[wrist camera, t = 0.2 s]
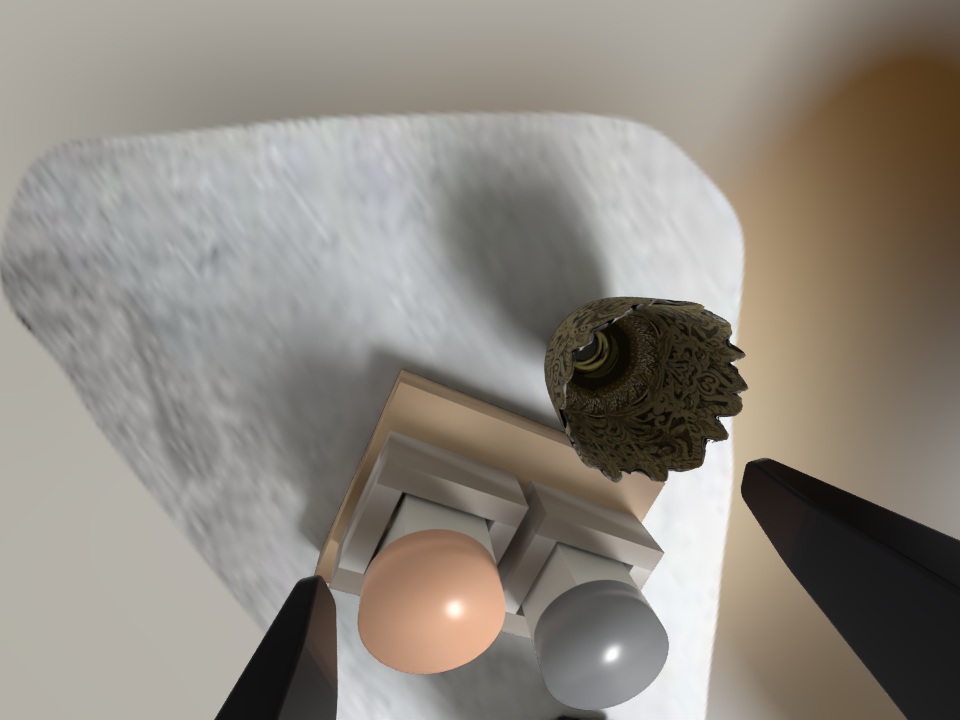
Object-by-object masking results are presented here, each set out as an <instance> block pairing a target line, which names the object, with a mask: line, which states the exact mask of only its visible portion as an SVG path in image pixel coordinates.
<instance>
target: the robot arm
mask: <svg viewBox="0 0 960 720" xmlns="http://www.w3.org/2000/svg"><path fill="white" fill-rule="evenodd" d="M741 494H742V497H743V499H744V501H745V503H746V504H747V506H748V507H749V509H750V510H751V512H752V513H753V515H754V516H755V518H756V520H757V521H758V523H759V524H760V526H761V527H762V529H763V530H764V532H765V533H766V535H767V536H768V538H769V539H770V541H771V543H772V544H773V546H774V547H775V549H776V550H777V552H778V554H779V555H780V557H781V558H782V559H783V561H784V562H785V564H786V565H787V567H788V568H789V569H790V571H791V572H792V573H793V575H794V576H795V577H796V579H797V580H798V581H799V582H800V584H801V585H802V586H803V587H804V589H805V590H806V591H807V593H808V594H809V595H810V596H811V598H812V599H813V600H814V601H815V603H816V604H817V605H818V606H819V608H820V609H821V610H822V612H823V613H824V614H825V615H826V617H827V618H828V619H829V621H830V622H831V623H832V624H833V626H834V627H835V628H836V629H837V631H838V632H839V633H840V635H841V636H842V637H843V638H844V640H845V641H846V642H847V643H848V645H849V646H850V647H851V649H852V650H853V651H854V652H855V654H856V655H857V656H858V657H859V659H860V660H861V661H862V663H863V664H864V665H865V666H866V668H867V669H868V670H869V672H870V673H871V674H872V675H873V677H874V678H875V679H876V680H877V682H878V683H879V684H880V686H881V687H882V688H883V689H884V691H885V692H886V693H887V694H888V696H889V697H890V698H891V699H892V701H893V702H894V703H895V704H896V706H897V707H898V708H899V709H900V711H901V712H902V714H903V715H904V716H905V717H906V719H907V720H960V540H958V539H955V538H953V537H951V536H948V535H946V534H943V533H941V532H939V531H937V530H934V529H932V528H930V527H927V526H925V525H923V524H921V523H918V522H916V521H913V520H911V519H909V518H906V517H904V516H902V515H900V514H897V513H895V512H893V511H890V510H888V509H885V508H883V507H881V506H879V505H876V504H874V503H872V502H870V501H867V500H865V499H862V498H860V497H858V496H856V495H853V494H851V493H849V492H846V491H844V490H842V489H839V488H837V487H835V486H832V485H830V484H828V483H825V482H823V481H821V480H819V479H816V478H814V477H812V476H809V475H807V474H805V473H802V472H800V471H798V470H795V469H793V468H791V467H788V466H786V465H784V464H781V463H779V462H777V461H774V460H771V459H769V458H761V459H758V460H754V461H751V462H748V463H747V464H746V467H745V471H744V476H743V480H742V485H741ZM337 698H338V678H337V629H336V605H335V601H334V598H333V596H332V594H331V592H330V590H329V588H328V586H327V584H326V582H325V580H324V578H323V577H322V576H321V575H315V576H311V577H307V578H303V579H301V580H299V581H298V582H297V583H296V585H295V586H294V588H293V590H292V591H291V593H290V595H289V596H288V598H287V600H286V601H285V603H284V605H283V606H282V608H281V610H280V611H279V613H278V615H277V616H276V618H275V620H274V621H273V623H272V625H271V626H270V628H269V630H268V631H267V633H266V635H265V636H264V638H263V640H262V641H261V643H260V645H259V646H258V648H257V650H256V652H255V653H254V655H253V656H252V658H251V660H250V661H249V663H248V665H247V666H246V668H245V670H244V671H243V673H242V675H241V676H240V678H239V679H238V681H237V683H236V685H235V686H234V688H233V690H232V691H231V693H230V694H229V696H228V698H227V700H226V701H225V703H224V704H223V706H222V708H221V710H220V711H219V713H218V714H217V716H216V718H215V719H214V720H336V714H337ZM558 720H575V719H571V718H566V717H562V718H559V719H558Z"/></svg>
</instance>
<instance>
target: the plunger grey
mask: <svg viewBox="0 0 960 720" xmlns="http://www.w3.org/2000/svg"><path fill="white" fill-rule="evenodd" d="M521 605H522V608H523V612H524V615H525V619H526V622H527V625H528V629H529V632H530V636H531V639H532V643H533V646H534V650H535V653H536V655H537V658H538V662H539V665H540V669H541V672H542V676H543V679H544V682H545V685H546V687H547V689H548V691H549V692H550V694H551V695H552V696H553V697H554V698H555V699H556V700H557V701H559V702H561V703H562V704H564V705H567V706H569V707H572V708H576V709H582V710H597V709H604V708H609V707H612V706H616V705H618V704H621V703H623V702H626V701H628V700H630V699H631V698H633V697H635V696H636V695H638V694H639V693H641V692H642V691H643V690H645V689H646V688H647V687H648V686H649V685H650V684H651V683H652V682H653V681H654V680H655V679H656V677H657V676H658V675H659V673H660V672H661V670H662V668H663V666H664V664H665V662H666V659H667V655H668V649H669V641H668V636H667V633H666V631H665V629H664V627H663V625H662V624H661V622H660V621H659V619H658V617H657V616H656V614H655V613H654V611H653V609H652V608H651V606H650V605H649V603H648V602H647V600H646V598H645V597H644V596H643V594H642V593H641V591H640V590H639V588H638V587H637V585H636V583H635V582H634V580H633V579H632V577H631V575H630V574H629V572H628V571H627V569H626V567H625V566H624V564H623V563H622V562H621V561H618V560H615V559H612V558H609V557H606V556H602V555H599V554H596V553H593V552H590V551H587V550H584V549H581V548H577V547H574V546H571V545H568V544H565V543H562V542H559V541H557V542H556V544H555V546H554V547H553V549H552V551H551V553H550V554H549V556H548V558H547V560H546V561H545V563H544V565H543V567H542V569H541V570H540V572H539V574H538V576H537V577H536V579H535V581H534V583H533V584H532V586H531V588H530V590H529V591H528V593H527V595H526V597H525V598H524V600H523V602H522V604H521Z"/></svg>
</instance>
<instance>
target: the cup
mask: <svg viewBox="0 0 960 720" xmlns="http://www.w3.org/2000/svg"><path fill="white" fill-rule="evenodd" d="M703 308H704V306H703V305H701V304H697V303H693V302H687V301H673V300H665V299H655V298H641V297H612V298H606V299H601V300H597V301H594V302H591V303H589V304H586V305H584V306H582V307H580V308H579V309H577V310H576V311H574V312H573V313H571V314H570V315H569V316H568V317H567V318H566V319H565V320H564V321H563V322H562V323H561V324H560V326H559V327H558V328H557V330H556V331H555V333H554V334H553V336H552V338H551V340H550V342H549V345H548V348H547V351H546V356H545V364H544V371H545V381H546V386H547V390H548V393H549V396H550V399H551V401H552V404H553V406H554V409H555V411H556V413H557V415H558V417H559V420H560V422H561V424H562V426H563V428H564V430H565V433H566V435H567V436H568V438H569V440H570V442H571V444H572V446H573V448H574V450H575V451H576V453H577V455H578V456H579V458H580V459H581V461H582V462H583V463H584V464H585V465H586V466H587V467H589V468H591V469H598V470H600V471H601V473H602V474H603V475H604V476H605V477H607V478H608V479H609V480H611V481H613V482H615V483H618V482H620V480H621V479H622V476H623V475H621V474H622V472H626V473H628V474H634V473H635V472H642V473H644V474H645V475H647V476H648V477H649V478H650V480H651V481H653V482H665V481H667V479H668V471H676V472H684V471H689V470H692V469H695V468H699V467H700V466H702V464H703V462H704V458H705V452H706V450H705V448H706V444H707V442H708V441H710V440H707V439H711V440H714V441H713V442H718V441H723V440H727V439H728V436H729V434H728V433H727V431H726V429H725V428H724V426H723V425H722V424H721V422H720V420H719V417H731V416H736V415H737V414H739V413H740V412H741V410H742V407H743V405H742V399H741V397H739V396H738V395H737V393H741V392H742V391H746V390H747V389H748V387H747V384H746V383H745V381H744V380H743V378H742V377H741V376H740V374H739V373H738V369H737V368H736V367H735V366H734V365H732V364H731V363H730V362H734V361H736V360H737V361H738V360H739V359H741V358H744V357H745V356H746V355H745V353H744V352H743V351H742V350H740V349H739V348H738V347H736V346H734V345H732V344H731V343H730V341H729V339H730V336H731V335H732V330H731V324H730V323H729V322H727V321H726V320H725V319H723V318H721V317H720V316H717V315H715V314H713V313H712V312H710V311H708V310H705V309H703ZM593 335H594V336H595V337H596V339H597V342H598V347H597V350H596V352H595V354H594V355H593V356H592V357H591V358H589V359H587V360H584V361H580V360H576V352H579V351H581V350H582V349H583V348H584V347H585V346H587V345H589V344H591V343H592V341H593V338H594V336H593ZM717 416H719V417H717ZM716 417H717V418H718V420H717V418H716ZM719 422H720V423H719ZM713 442H712V443H713ZM619 471H621V472H619Z"/></svg>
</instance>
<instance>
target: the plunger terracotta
mask: <svg viewBox="0 0 960 720" xmlns="http://www.w3.org/2000/svg"><path fill="white" fill-rule="evenodd" d="M495 562H496V560H495V556H494V552H493V548H492V544H491V540H490V536H489V532H488V528H487V525H486V521H485V518H483V517H480V516H477V515H474V514H471V513H468V512H465V511H462V510H458V509H455V508H452V507H449V506H446V505H443V504H440V503H436V502H433V501H430V500H427V499H424V498H421V497H418V496H415V495H411V494H408V493H406V495H405V497H404V499H403V501H402V503H401V505H400V507H399V509H398V511H397V514H396V516H395V518H394V520H393V522H392V524H391V526H390V528H389V530H388V533H387V535H386V537H385V539H384V541H383V543H382V545H381V547H380V549H379V552H378V554H377V555H376V557H375V558H374V559H373V560H372V562H371V563H370V565H369V567H368V569H367V571H366V573H365V576H364V580H363V584H362V591H361V598H360V606H359V613H358V630H359V634H360V637H361V640H362V642H363V644H364V646H365V647H366V649H367V650H368V651H369V653H370V654H371V655H372V656H373V657H374V658H376V659H377V660H378V661H380V662H381V663H383V664H385V665H386V666H388V667H391V668H393V669H396V670H399V671H402V672H407V673H413V674H432V673H439V672H444V671H448V670H451V669H454V668H457V667H460V666H462V665H464V664H466V663H468V662H470V661H471V660H473V659H475V658H476V657H477V656H479V655H480V654H481V653H483V652H484V651H485V650H486V649H487V648H488V647H489V646H490V645H491V644H492V642H493V641H494V640H495V638H496V637H497V635H498V634H499V632H500V630H501V628H502V625H503V622H504V619H505V612H506V603H505V597H504V593H503V589H502V585H501V581H500V577H499V573H498V569H497V566H496V563H495Z"/></svg>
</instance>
